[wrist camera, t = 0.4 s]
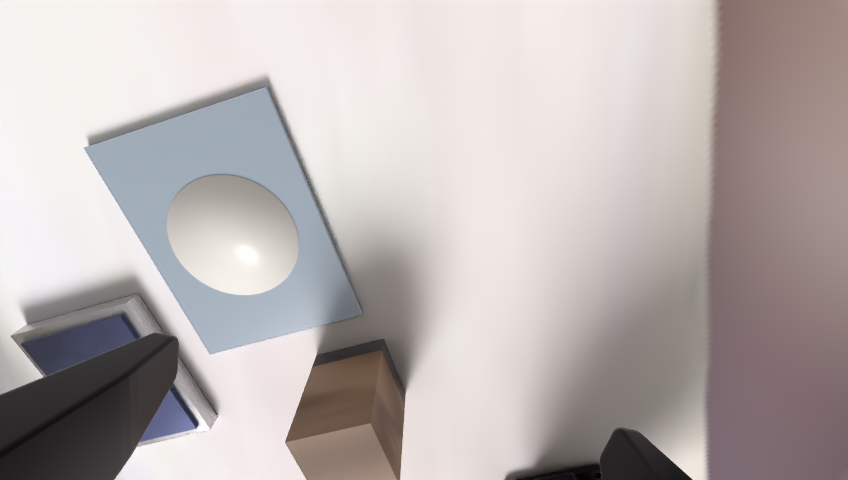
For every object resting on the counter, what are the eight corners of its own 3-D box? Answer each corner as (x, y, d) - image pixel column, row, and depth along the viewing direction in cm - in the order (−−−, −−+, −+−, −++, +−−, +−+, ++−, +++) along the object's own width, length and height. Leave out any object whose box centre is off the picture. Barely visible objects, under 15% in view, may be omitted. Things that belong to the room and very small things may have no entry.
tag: (362, 312, 24) (361, 315, 23) (212, 351, 25) (209, 355, 24) (267, 86, 19) (264, 87, 19) (88, 146, 20) (82, 148, 20)
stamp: (405, 392, 26) (399, 485, 20) (342, 407, 26) (319, 501, 21) (383, 338, 24) (370, 423, 19) (316, 355, 25) (285, 442, 19)
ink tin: (217, 416, 27) (208, 433, 25) (117, 440, 27) (103, 457, 26) (137, 293, 23) (122, 305, 22) (26, 325, 24) (6, 338, 23)
